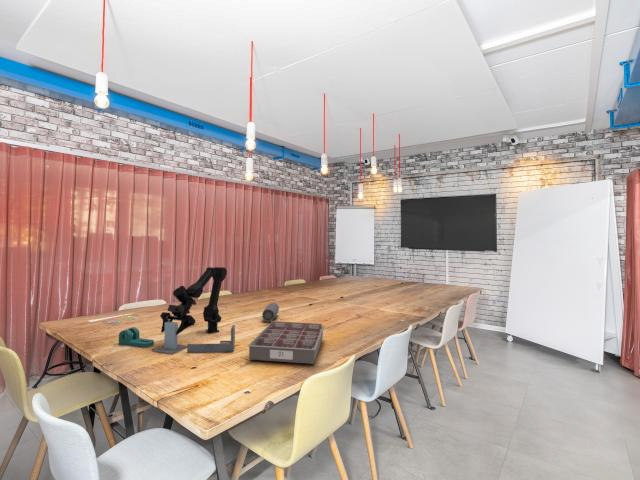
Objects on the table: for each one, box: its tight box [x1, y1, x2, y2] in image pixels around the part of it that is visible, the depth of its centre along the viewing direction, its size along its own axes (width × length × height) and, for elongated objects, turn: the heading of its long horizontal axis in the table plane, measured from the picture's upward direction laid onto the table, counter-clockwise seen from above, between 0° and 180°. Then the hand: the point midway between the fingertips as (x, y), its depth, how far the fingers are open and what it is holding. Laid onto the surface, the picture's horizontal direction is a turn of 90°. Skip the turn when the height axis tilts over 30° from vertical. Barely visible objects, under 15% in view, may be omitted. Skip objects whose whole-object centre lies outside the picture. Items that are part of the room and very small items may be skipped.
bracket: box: [118, 326, 155, 349], centre depth 176 cm, size 18×7×8 cm, turn 75°
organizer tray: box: [247, 320, 325, 365], centre depth 173 cm, size 32×40×10 cm
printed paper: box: [88, 312, 140, 325], centre depth 223 cm, size 30×30×2 cm
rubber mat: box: [151, 343, 187, 355], centre depth 170 cm, size 12×12×1 cm
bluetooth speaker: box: [261, 302, 280, 322], centre depth 235 cm, size 23×9×10 cm, turn 179°
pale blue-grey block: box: [163, 321, 179, 350], centre depth 170 cm, size 2×6×13 cm, turn 71°
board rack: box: [186, 324, 236, 354], centre depth 169 cm, size 6×22×12 cm, turn 97°
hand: (169, 333), depth 168 cm, fingers open, 9 cm apart
